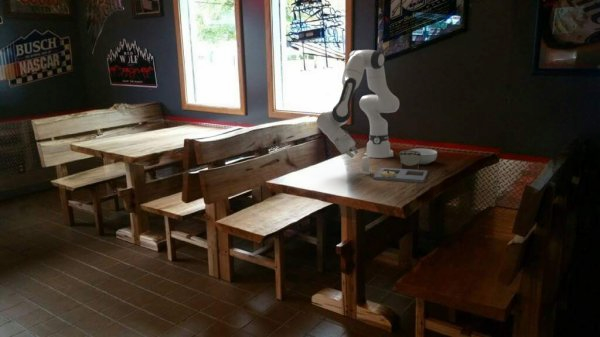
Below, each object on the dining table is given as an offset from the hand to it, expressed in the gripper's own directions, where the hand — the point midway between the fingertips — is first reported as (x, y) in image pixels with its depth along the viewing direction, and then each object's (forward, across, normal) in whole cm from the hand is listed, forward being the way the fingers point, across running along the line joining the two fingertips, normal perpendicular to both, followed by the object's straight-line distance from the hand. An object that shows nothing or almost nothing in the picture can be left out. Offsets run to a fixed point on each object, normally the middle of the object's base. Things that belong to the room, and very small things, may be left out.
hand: (355, 155), depth 275 cm
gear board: (+25, -2, -11) cm, 28 cm away
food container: (+27, +17, -13) cm, 34 cm away
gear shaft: (+11, 0, +3) cm, 12 cm away
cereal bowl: (+30, +32, -16) cm, 47 cm away
